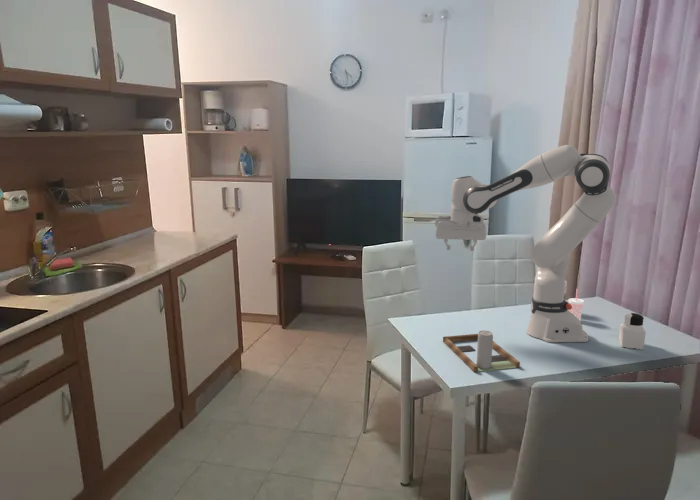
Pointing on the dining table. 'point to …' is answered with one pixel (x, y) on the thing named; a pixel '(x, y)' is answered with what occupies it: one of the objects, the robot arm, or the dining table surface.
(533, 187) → the robot arm
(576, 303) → the beverage cup
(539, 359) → the dining table surface
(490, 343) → the beverage can
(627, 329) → the medicine bottle
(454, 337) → the box
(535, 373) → the dining table surface
